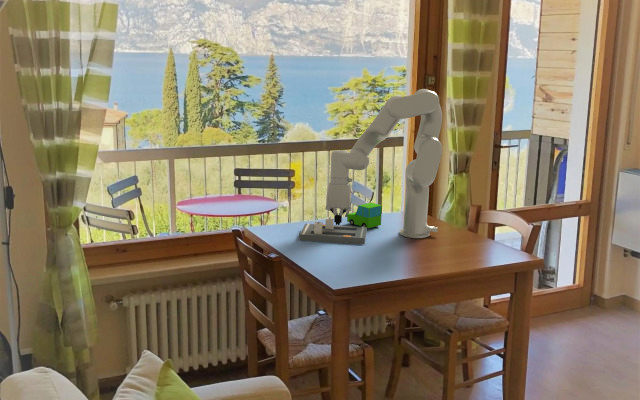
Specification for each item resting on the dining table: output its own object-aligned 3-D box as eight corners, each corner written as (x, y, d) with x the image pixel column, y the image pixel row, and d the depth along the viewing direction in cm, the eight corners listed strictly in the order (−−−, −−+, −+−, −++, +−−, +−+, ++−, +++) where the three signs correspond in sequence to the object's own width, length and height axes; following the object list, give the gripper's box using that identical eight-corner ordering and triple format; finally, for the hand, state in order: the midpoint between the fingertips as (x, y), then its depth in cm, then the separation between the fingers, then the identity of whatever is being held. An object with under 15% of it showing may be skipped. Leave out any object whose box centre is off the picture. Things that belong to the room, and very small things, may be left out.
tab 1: (322, 234, 259) (322, 221, 257) (321, 236, 256) (321, 223, 254) (314, 234, 259) (315, 221, 258) (313, 236, 256) (314, 223, 255)
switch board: (366, 232, 267) (366, 226, 266) (364, 244, 252) (364, 237, 251) (305, 229, 270) (305, 223, 269) (299, 240, 255) (299, 233, 254)
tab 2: (333, 229, 266) (333, 217, 265) (332, 231, 263) (332, 219, 262) (326, 229, 266) (326, 216, 265) (325, 231, 263) (325, 218, 262)
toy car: (360, 220, 286) (361, 199, 284) (382, 227, 277) (383, 204, 274) (344, 224, 279) (345, 202, 277) (366, 231, 270) (367, 208, 268)
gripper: (358, 180, 262) (356, 222, 266) (322, 178, 264) (321, 220, 268) (357, 183, 255) (355, 227, 259) (320, 181, 256) (318, 225, 261)
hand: (337, 224), depth 264 cm, fingers closed
